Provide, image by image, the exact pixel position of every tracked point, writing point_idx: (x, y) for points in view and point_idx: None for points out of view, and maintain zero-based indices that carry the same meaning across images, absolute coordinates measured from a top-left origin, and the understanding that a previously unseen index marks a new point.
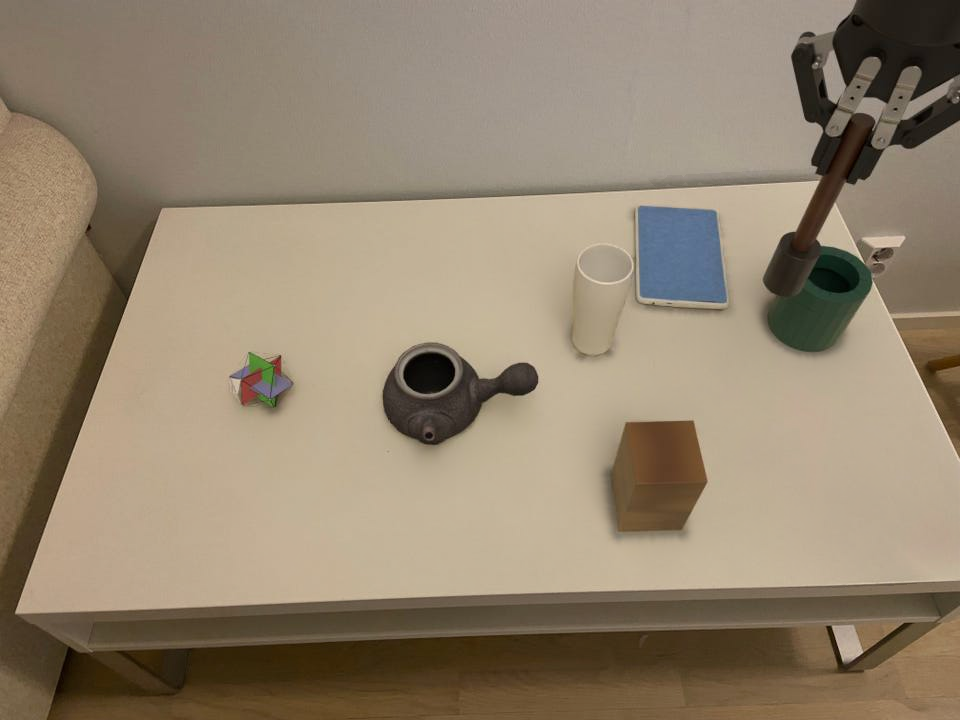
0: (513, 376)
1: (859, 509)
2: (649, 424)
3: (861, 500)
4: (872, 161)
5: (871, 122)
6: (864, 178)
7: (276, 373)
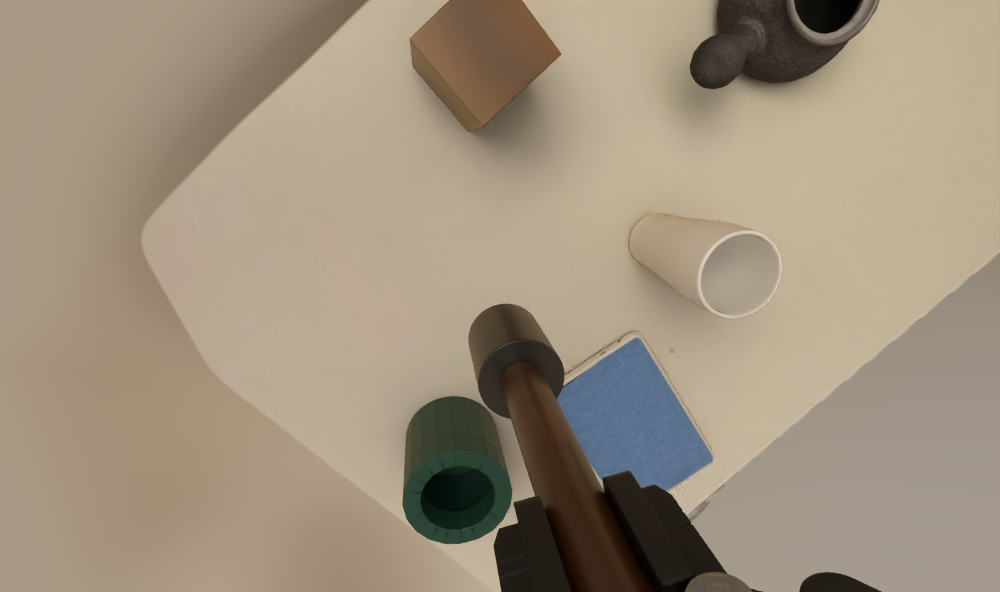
0: (733, 43)
1: (260, 242)
2: (530, 74)
3: (265, 255)
4: (516, 585)
5: None
6: (502, 533)
7: None
